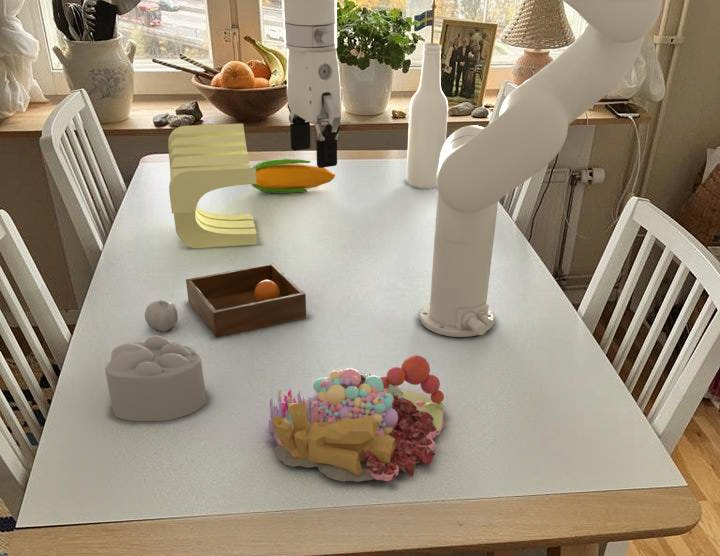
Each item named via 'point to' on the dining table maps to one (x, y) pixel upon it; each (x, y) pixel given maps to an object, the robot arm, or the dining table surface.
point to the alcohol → (427, 122)
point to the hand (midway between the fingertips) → (313, 157)
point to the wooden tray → (244, 300)
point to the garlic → (161, 315)
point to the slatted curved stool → (209, 183)
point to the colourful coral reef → (361, 423)
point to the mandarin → (266, 291)
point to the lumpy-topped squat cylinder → (155, 380)
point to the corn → (289, 176)
